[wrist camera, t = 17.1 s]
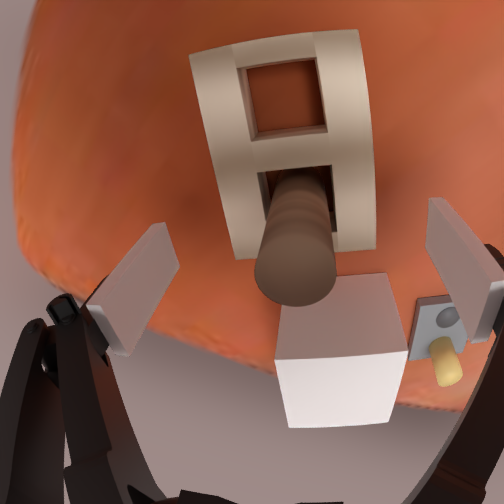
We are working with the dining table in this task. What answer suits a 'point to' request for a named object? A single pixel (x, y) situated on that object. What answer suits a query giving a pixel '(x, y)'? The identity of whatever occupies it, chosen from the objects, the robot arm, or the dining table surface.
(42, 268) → the dining table surface
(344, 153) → the socket board
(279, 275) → the peg
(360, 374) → the white cube block
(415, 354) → the board
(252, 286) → the dining table surface
